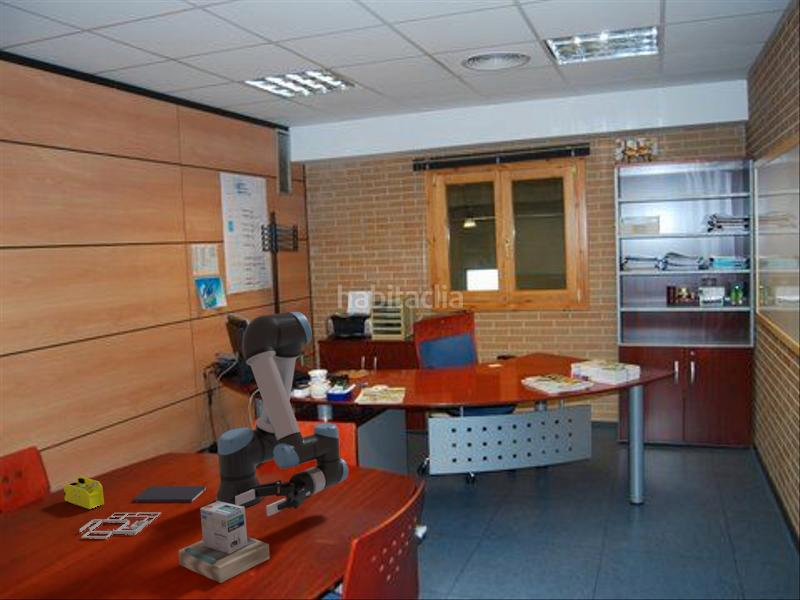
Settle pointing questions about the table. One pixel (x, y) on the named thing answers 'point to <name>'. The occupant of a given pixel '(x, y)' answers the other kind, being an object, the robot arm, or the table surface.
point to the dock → (223, 559)
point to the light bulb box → (223, 526)
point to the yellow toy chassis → (84, 493)
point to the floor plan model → (134, 527)
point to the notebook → (170, 494)
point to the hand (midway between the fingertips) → (251, 506)
